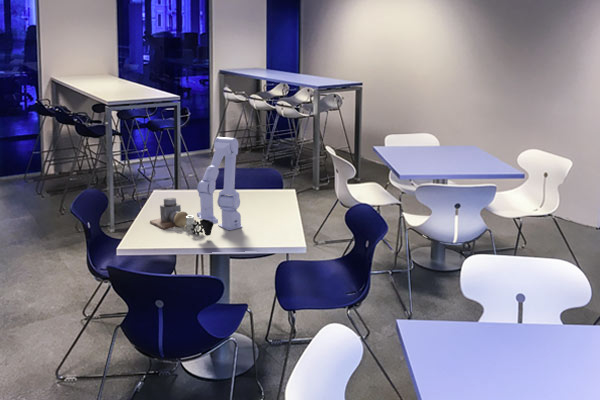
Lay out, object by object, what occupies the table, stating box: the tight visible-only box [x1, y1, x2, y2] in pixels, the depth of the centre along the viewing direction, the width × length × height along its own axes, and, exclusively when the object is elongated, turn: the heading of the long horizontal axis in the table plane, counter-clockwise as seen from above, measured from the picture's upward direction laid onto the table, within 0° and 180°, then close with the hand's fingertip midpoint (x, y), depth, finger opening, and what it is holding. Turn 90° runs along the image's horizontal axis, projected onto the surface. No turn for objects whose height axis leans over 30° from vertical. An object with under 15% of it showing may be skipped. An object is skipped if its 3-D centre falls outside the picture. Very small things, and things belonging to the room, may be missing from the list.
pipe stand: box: [149, 197, 197, 230], centre depth 309 cm, size 16×18×12 cm
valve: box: [185, 214, 204, 236], centre depth 297 cm, size 7×7×12 cm
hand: (207, 235), depth 288 cm, fingers closed
